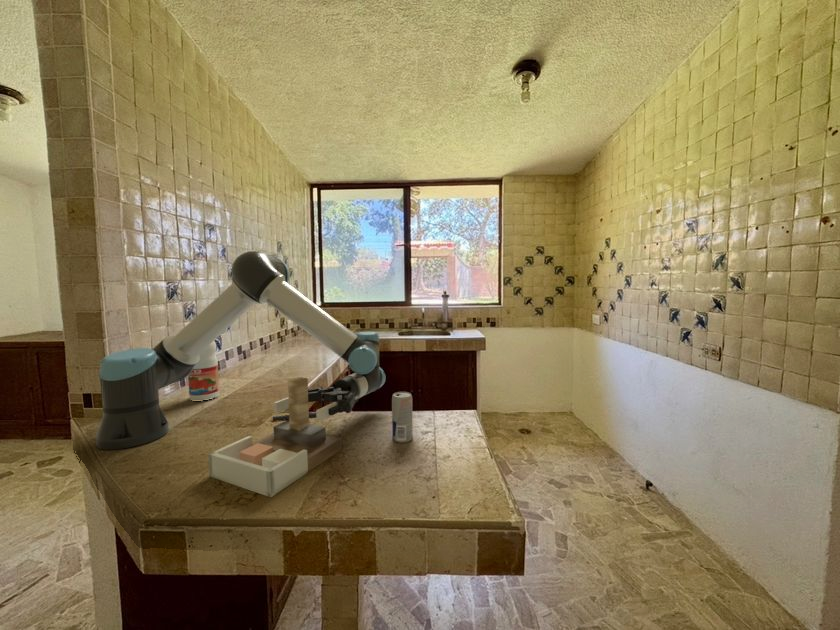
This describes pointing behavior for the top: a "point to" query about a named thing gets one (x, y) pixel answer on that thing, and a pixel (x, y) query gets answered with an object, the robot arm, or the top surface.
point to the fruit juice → (205, 375)
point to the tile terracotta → (255, 453)
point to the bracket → (288, 416)
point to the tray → (255, 469)
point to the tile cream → (276, 458)
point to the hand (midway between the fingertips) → (295, 412)
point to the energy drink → (402, 417)
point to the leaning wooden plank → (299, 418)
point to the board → (307, 448)
